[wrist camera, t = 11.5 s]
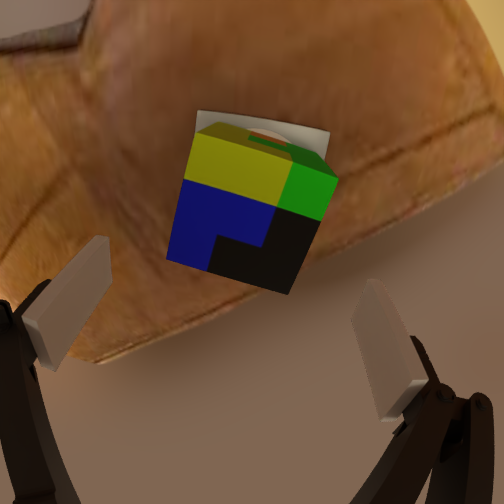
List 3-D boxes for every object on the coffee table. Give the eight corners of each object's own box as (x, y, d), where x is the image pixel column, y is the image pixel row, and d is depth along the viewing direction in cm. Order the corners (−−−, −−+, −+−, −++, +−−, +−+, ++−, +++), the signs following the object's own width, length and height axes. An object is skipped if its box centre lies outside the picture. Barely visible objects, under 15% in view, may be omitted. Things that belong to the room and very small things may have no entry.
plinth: (189, 223, 36) (184, 231, 34) (201, 109, 29) (197, 110, 27) (300, 241, 36) (302, 250, 34) (326, 130, 30) (330, 132, 28)
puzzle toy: (193, 212, 33) (165, 259, 24) (218, 121, 28) (195, 132, 19) (283, 240, 34) (287, 294, 25) (317, 153, 29) (338, 178, 20)
